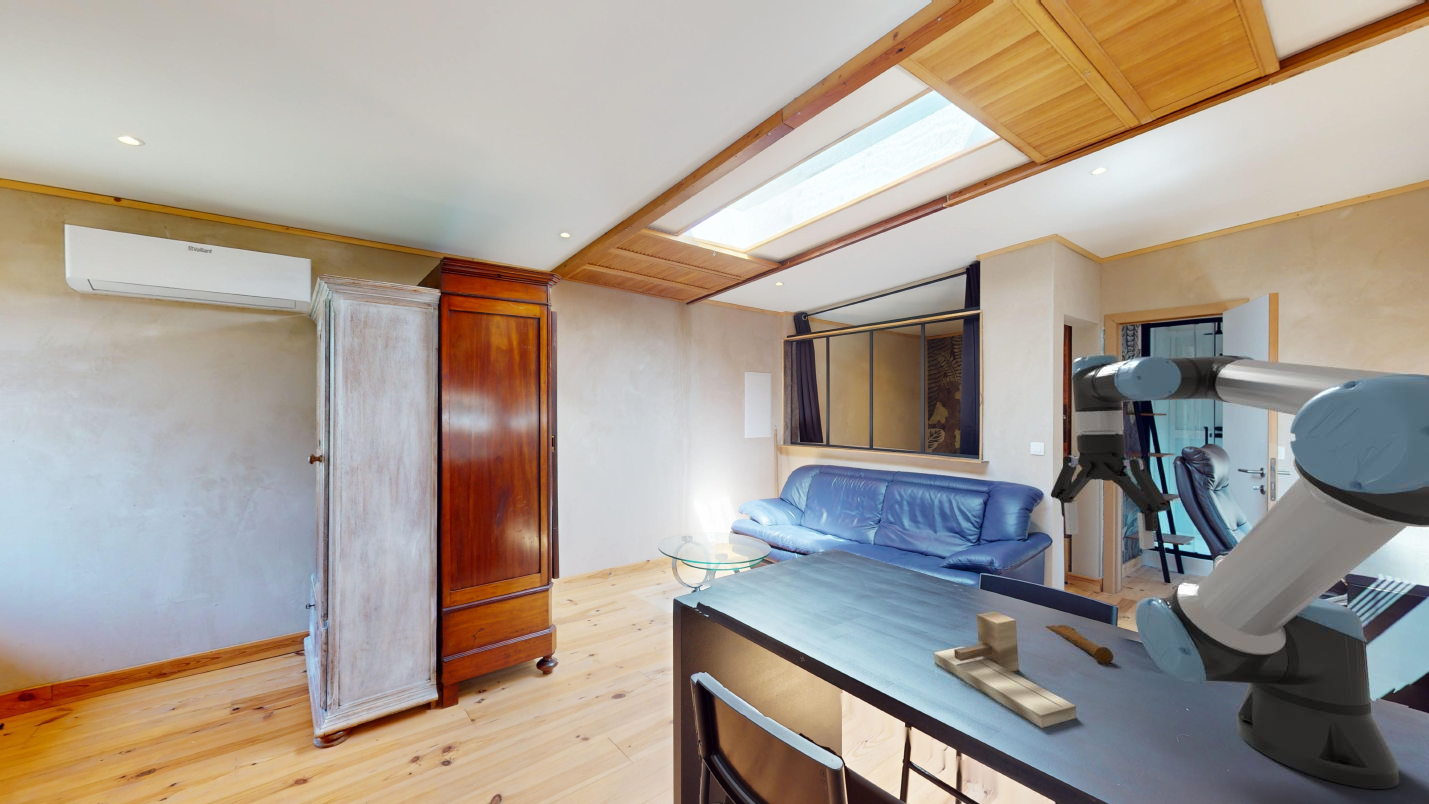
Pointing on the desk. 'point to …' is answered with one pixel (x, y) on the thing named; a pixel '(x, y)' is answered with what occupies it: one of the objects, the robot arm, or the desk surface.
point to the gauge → (994, 641)
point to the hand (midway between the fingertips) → (1107, 540)
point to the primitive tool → (1083, 643)
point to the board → (1009, 689)
